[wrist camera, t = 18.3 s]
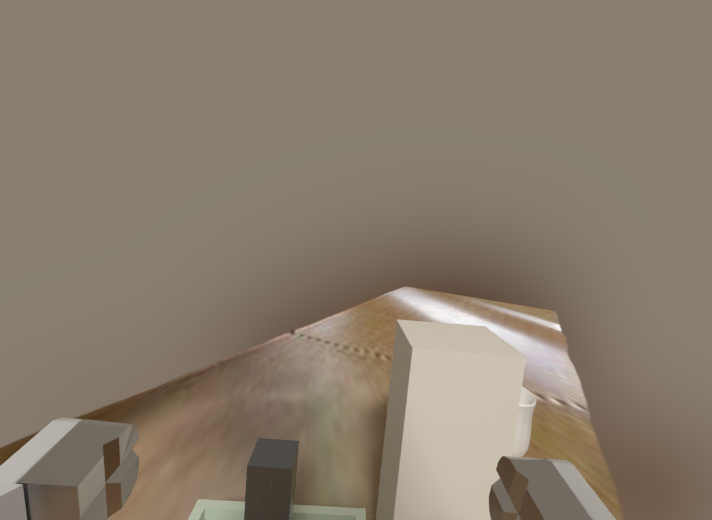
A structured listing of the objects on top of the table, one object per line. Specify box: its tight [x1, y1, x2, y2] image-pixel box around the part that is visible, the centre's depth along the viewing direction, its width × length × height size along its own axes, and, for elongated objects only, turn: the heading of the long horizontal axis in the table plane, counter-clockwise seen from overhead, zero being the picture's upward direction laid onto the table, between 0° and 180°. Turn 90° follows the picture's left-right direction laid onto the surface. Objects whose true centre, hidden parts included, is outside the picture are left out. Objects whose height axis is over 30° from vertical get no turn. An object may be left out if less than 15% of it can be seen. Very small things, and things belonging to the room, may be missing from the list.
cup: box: [512, 387, 536, 457], centre depth 63 cm, size 10×10×10 cm
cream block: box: [376, 320, 526, 520], centre depth 36 cm, size 10×9×26 cm
